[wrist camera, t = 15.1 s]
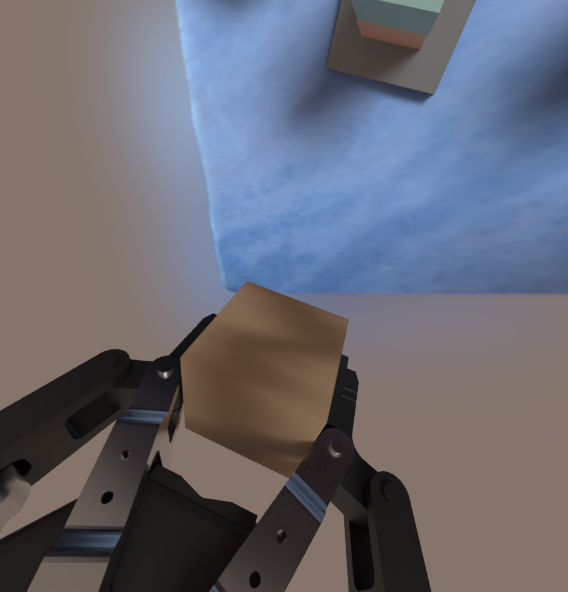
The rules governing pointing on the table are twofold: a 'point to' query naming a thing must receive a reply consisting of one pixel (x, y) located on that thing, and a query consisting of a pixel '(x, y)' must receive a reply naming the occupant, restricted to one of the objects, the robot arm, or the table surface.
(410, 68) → the plate
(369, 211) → the table surface
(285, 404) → the walnut brick
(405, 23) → the teal brick
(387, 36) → the base brick
